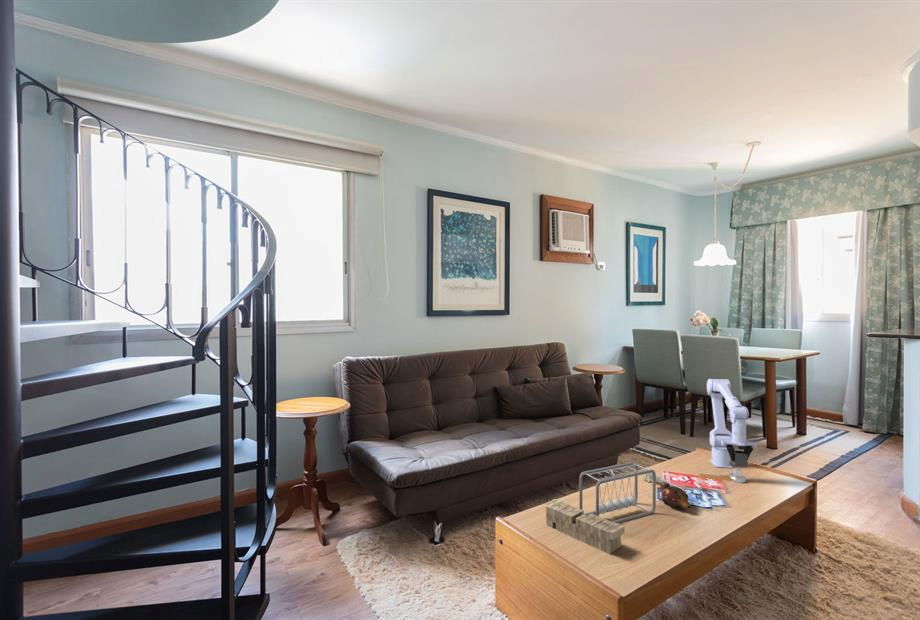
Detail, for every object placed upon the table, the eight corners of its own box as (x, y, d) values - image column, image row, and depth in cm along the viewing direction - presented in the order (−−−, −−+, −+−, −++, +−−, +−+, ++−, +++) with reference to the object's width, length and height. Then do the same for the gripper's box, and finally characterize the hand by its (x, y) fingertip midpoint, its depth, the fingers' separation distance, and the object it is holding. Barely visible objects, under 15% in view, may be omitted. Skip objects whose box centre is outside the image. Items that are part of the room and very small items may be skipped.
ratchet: (701, 480, 209) (701, 469, 209) (697, 475, 216) (697, 464, 216) (748, 483, 205) (748, 472, 205) (742, 478, 212) (742, 467, 212)
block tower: (543, 526, 169) (613, 557, 147) (542, 504, 169) (612, 531, 147) (555, 519, 174) (625, 548, 152) (555, 498, 174) (624, 523, 152)
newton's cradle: (597, 529, 165) (597, 481, 164) (578, 517, 174) (578, 472, 174) (656, 513, 177) (656, 469, 177) (636, 502, 186) (636, 460, 186)
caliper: (643, 481, 209) (643, 468, 209) (644, 480, 210) (644, 467, 209) (689, 495, 193) (689, 481, 193) (690, 494, 194) (690, 480, 194)
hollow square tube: (730, 462, 212) (730, 450, 212) (742, 463, 211) (742, 450, 211) (735, 466, 207) (735, 453, 207) (747, 467, 206) (747, 454, 206)
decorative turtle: (667, 496, 192) (669, 478, 192) (698, 513, 178) (700, 494, 178) (650, 499, 188) (652, 480, 188) (680, 517, 175) (682, 497, 174)
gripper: (725, 434, 207) (725, 463, 207) (759, 435, 204) (759, 465, 204) (719, 429, 213) (719, 457, 214) (753, 431, 211) (752, 459, 211)
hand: (738, 461), depth 209 cm, fingers closed on hollow square tube, 5 cm apart
